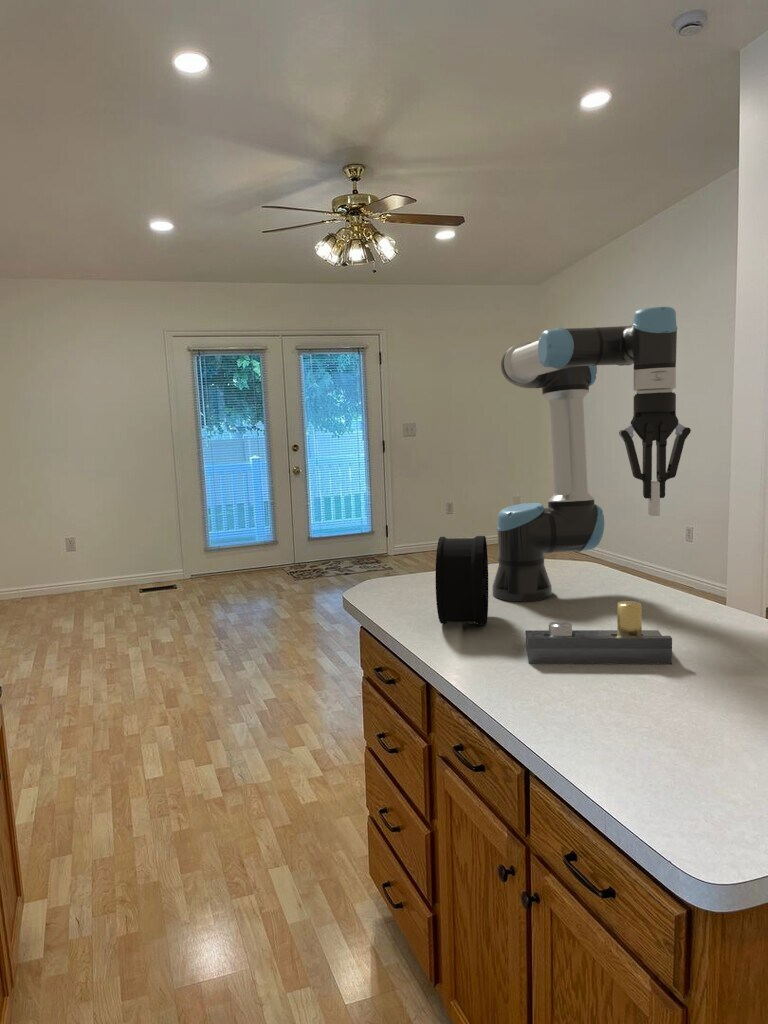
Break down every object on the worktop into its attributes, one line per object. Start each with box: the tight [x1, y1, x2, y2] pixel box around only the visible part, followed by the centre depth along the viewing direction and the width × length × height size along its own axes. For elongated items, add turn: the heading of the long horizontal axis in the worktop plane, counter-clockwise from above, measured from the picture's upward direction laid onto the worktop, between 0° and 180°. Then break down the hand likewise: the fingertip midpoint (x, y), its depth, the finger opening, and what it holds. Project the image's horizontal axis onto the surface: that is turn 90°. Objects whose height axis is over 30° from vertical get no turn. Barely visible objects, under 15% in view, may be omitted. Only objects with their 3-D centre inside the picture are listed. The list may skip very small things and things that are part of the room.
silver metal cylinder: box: [548, 620, 573, 636], centre depth 138 cm, size 4×4×6 cm
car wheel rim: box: [435, 535, 489, 625], centre depth 160 cm, size 20×10×20 cm, turn 168°
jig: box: [524, 629, 673, 665], centre depth 137 cm, size 11×26×5 cm, turn 81°
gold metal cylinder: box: [616, 600, 643, 636], centre depth 135 cm, size 4×4×10 cm
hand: (653, 514), depth 136 cm, fingers closed
